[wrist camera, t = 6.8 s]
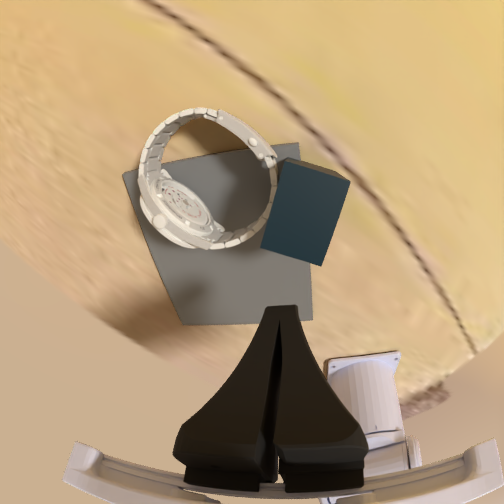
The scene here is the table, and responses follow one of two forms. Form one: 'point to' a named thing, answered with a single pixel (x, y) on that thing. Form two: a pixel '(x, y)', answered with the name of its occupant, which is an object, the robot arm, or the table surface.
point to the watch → (277, 212)
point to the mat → (232, 258)
